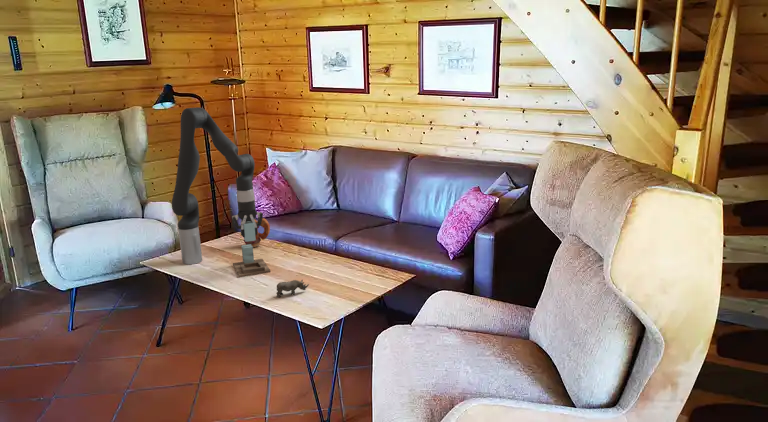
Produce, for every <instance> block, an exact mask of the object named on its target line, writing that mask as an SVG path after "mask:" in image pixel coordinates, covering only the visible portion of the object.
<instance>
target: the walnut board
mask: <svg viewBox="0 0 768 422" xmlns="http://www.w3.org/2000/svg"><path fill="white" fill-rule="evenodd" d="M241 254H242V255H241V256H242V261H237V262H232V266H233V268H234V270H235V272H236V274H237V276H238V278H244V277H245V278H246V277H250V276H257V275H261V274H268V273H271V269H270V268H269V266H268V265H267V263H266V262H265V260H264V259H263V258H257V259H255V258H254V256H255V255H254V247H253V246H252V245H251V244H250V245H246V244H244V245H241Z"/></svg>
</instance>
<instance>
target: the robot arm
mask: <svg viewBox="0 0 768 422" xmlns="http://www.w3.org/2000/svg"><path fill="white" fill-rule="evenodd" d="M196 129H203V131H205V132H207V134H208V135H209V136H210V138H211V142H212V144H213V146H214V147H215V149H216V150H217V151H218V152H219V153H220V154H221V155H222V156H224V158H225V160H226V162H227V163H228V166H229V167H230V168H231V169H232V170H233V171H235V172H237V173H240V174H239V176H237V177H236V179H235V182H236V184H235V185H236V200H237V209H238V211H237V214H236V215H231V219H232V221H233V223H234V225H235V228H236V229H238V230H240V236H241V237H242V238H243V239H244V237H245V233H244V224H245V222H248V221H249V222H251V221H252V223H254V226H255V236H256V234H257V227H258V226H259V227H261V222H262V219H263V218H264V217H263V216H264V214H263V212H262V211H260V212H259V211H257V208H256V200H255V198H256V196H255V191H254V185H253V180H254V179H253V177H254V172H255V165H256V162H255V158H254V157H253V156H252V155H251V154H249V153H243V154H238V152H239V148H238V146H237V145H236V144H235V143H234V142H233V141H232V140H231V139H230V138H229V137H228V136H227V135H226V134H225V133H224V132H223V131H222V130H221V129H220V127H219V126H218V124H217V123H216V122H215V120H214V119H213V118H212V116H211V115H210V114H209V112H208V111H207V110H206V109H205V108H203V107H188V108H184V109H183V110H182V111H181V115H180V140H179V152H178V159H177V160H178V161H177V171H176V178H175V186H174V191H173V193H172V194H173V195H172V200H171V208H172V209H171V210H172V212H173V213H174V214H175V216H177V217H178V216H181V218H180V220H179V221H178V223H177V229H178V237H179V238H178V239H179V244H180V245H179V246H180V253H181V259H182V260H181V261H182V264H184V265H195V264H198V263H201V262H202V261H203V254H202V246H201V238H200V237H201V236H200V230H199V229H200V228H199V221H200V208H199V201H198V199H197V196H195V195H194V194H193V193H189V192H190V188H191V187H192V184H193V182H194V181H195V179H196V176H197V174H198V172H199V169H200V160H201V159H200V158H201V155H200V153H199V150H198V148H197V146H196V142H195V132H196ZM256 217H257V221H258V222H257V223H256V222H255V220H254V219H255V218H256ZM239 219H240V225H239V223H238V220H239Z"/></svg>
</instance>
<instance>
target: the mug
mask: <svg viewBox="0 0 768 422" xmlns="http://www.w3.org/2000/svg"><path fill="white" fill-rule="evenodd" d="M254 220H255V222H256V223H257V222H258V220H257V219H255V218H254ZM270 226H271V225H270V223H269V221H268V220H267V219H266V218H264V217H262V222H261V226H258V227H257V234H256V236H255V237H256V240H255V241H248V242H246V241H245V240H244V239H243V242H244V245H250V244H251V245H252V246H253V248H256V247H258V246H260V245H261V240H263V241H264V240H266V239H267V238H268V236H269V235H270V231H271V227H270ZM260 227H262V228H263V232H259V228H260Z"/></svg>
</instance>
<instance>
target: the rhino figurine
mask: <svg viewBox="0 0 768 422" xmlns="http://www.w3.org/2000/svg"><path fill="white" fill-rule="evenodd" d="M309 285H310V284H306V283H305V282H303V279H301V280H297V279H293V280H290V281H281V282H278V283H277V285H276V293H275V294H276V298H281V296H283V295H284V292H290V295H291V296H292V297H293V296H295V295H296V290H297V289H298V288H299V290H302V291H306V289H307V288H308V287H309ZM283 291H284V292H283Z"/></svg>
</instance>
